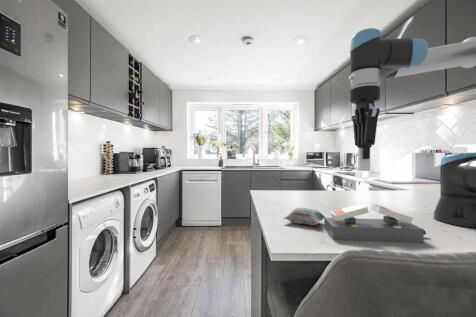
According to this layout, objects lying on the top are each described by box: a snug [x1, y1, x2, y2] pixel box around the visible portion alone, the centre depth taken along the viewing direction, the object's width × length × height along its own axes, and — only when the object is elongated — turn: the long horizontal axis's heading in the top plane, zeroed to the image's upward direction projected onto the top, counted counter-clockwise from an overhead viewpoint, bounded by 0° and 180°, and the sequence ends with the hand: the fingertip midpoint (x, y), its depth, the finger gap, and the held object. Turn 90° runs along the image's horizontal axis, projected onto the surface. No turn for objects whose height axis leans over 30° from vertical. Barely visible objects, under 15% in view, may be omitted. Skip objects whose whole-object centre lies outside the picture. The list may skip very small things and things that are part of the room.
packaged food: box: [282, 207, 326, 226], centre depth 79 cm, size 9×12×5 cm
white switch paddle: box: [330, 203, 369, 221], centre depth 68 cm, size 9×4×2 cm, turn 83°
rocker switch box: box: [323, 215, 427, 243], centre depth 67 cm, size 26×9×5 cm, turn 83°
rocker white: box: [370, 203, 414, 224], centre depth 67 cm, size 9×4×2 cm, turn 84°
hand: (364, 170), depth 67 cm, fingers closed
